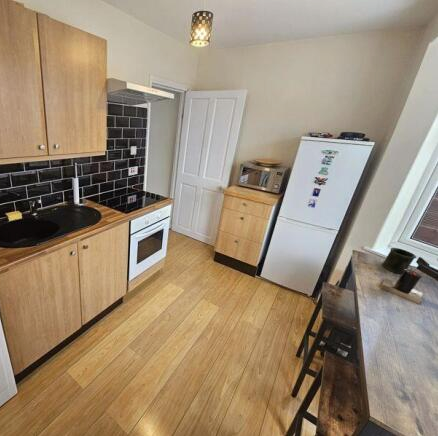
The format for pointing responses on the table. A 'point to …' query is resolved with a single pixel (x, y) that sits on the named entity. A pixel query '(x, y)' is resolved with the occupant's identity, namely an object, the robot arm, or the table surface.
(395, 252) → the mug
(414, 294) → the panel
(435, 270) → the robot arm
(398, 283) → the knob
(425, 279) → the table surface
